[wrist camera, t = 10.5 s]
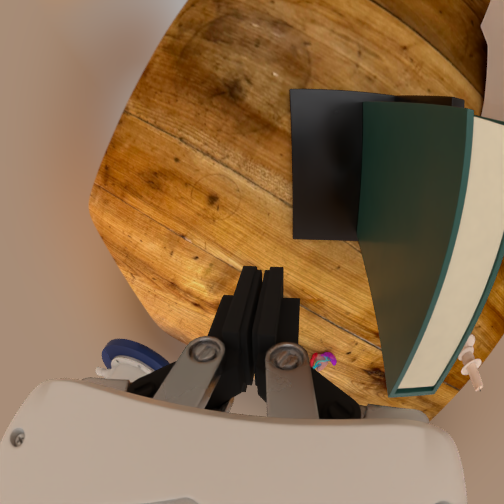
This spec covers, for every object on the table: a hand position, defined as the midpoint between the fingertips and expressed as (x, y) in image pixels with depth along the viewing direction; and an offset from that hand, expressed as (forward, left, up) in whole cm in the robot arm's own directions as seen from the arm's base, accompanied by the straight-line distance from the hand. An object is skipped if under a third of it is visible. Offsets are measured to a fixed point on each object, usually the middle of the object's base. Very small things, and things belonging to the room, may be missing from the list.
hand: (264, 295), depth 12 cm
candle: (+31, -26, -20) cm, 45 cm away
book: (+7, +1, -9) cm, 11 cm away
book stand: (+7, +1, -20) cm, 21 cm away
